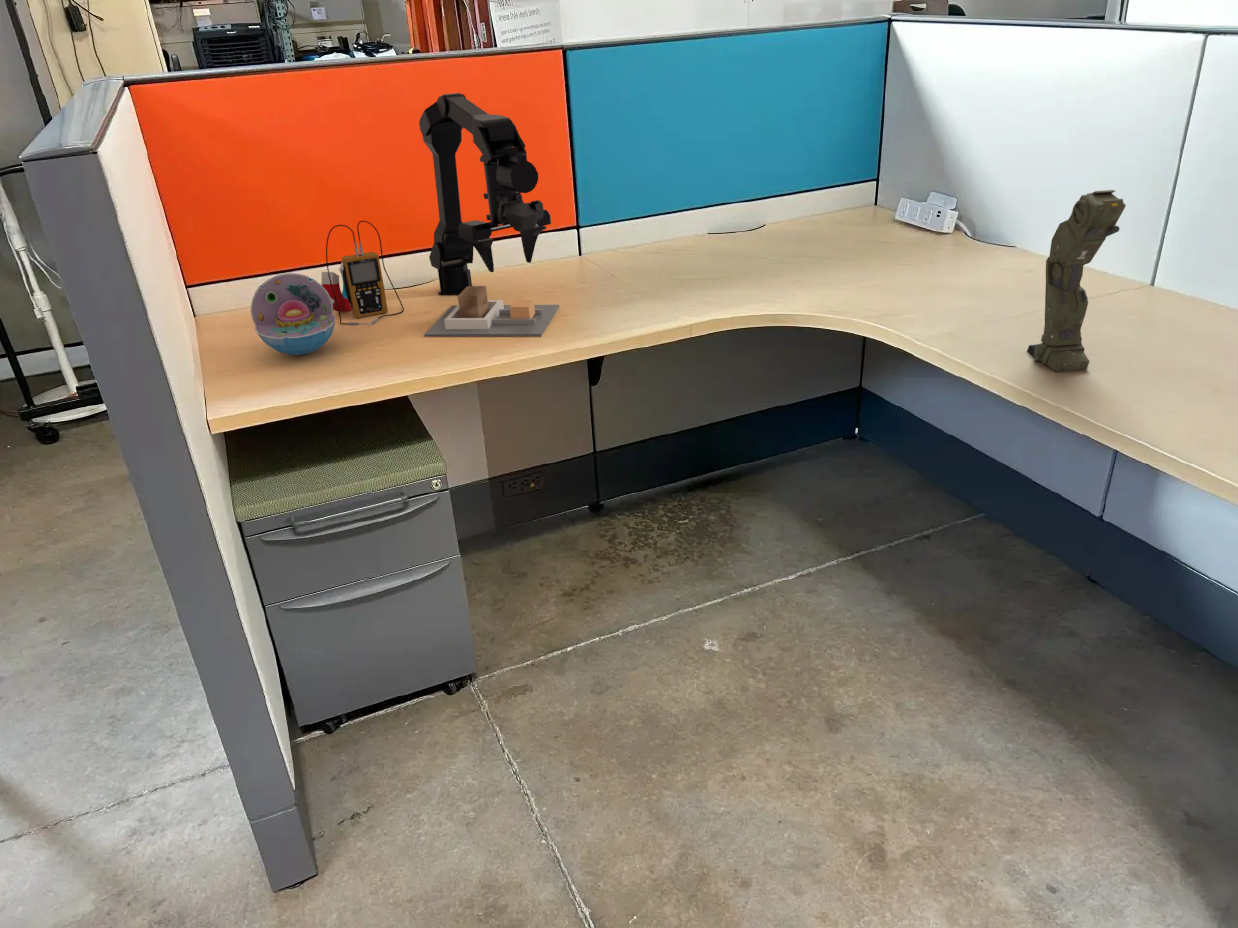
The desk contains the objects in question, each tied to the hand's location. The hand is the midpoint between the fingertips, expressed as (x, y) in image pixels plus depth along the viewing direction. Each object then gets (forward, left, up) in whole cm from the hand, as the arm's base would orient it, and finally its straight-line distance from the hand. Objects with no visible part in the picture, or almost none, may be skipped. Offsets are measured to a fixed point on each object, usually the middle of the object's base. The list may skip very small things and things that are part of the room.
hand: (510, 267), depth 180 cm
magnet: (-41, +8, -12) cm, 43 cm away
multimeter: (-32, +2, -12) cm, 34 cm away
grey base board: (-5, 0, -11) cm, 12 cm away
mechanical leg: (+100, -23, -12) cm, 103 cm away
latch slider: (+1, 0, -12) cm, 12 cm away
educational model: (-39, -18, -12) cm, 44 cm away
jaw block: (-9, +1, -11) cm, 14 cm away
